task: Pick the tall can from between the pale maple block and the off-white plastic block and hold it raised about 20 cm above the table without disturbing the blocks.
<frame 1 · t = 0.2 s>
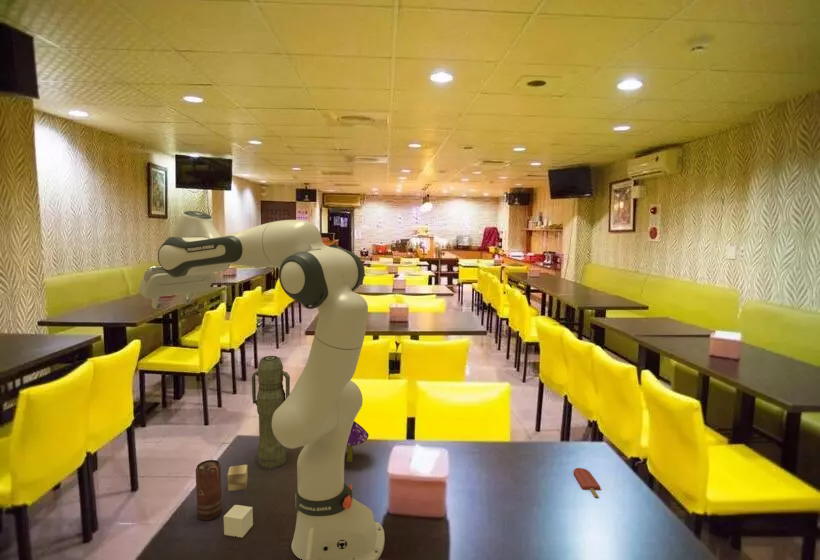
hand: (171, 304, 135), 54 cm above the table, tool tilted 30°, fingers open, 8 cm apart
decorative mushroom: (349, 462, 153), on the table
maple block: (238, 485, 138), on the table
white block: (238, 530, 118), on the table
can: (210, 514, 124), on the table
popsicle: (587, 485, 141), on the table
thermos: (273, 462, 152), on the table
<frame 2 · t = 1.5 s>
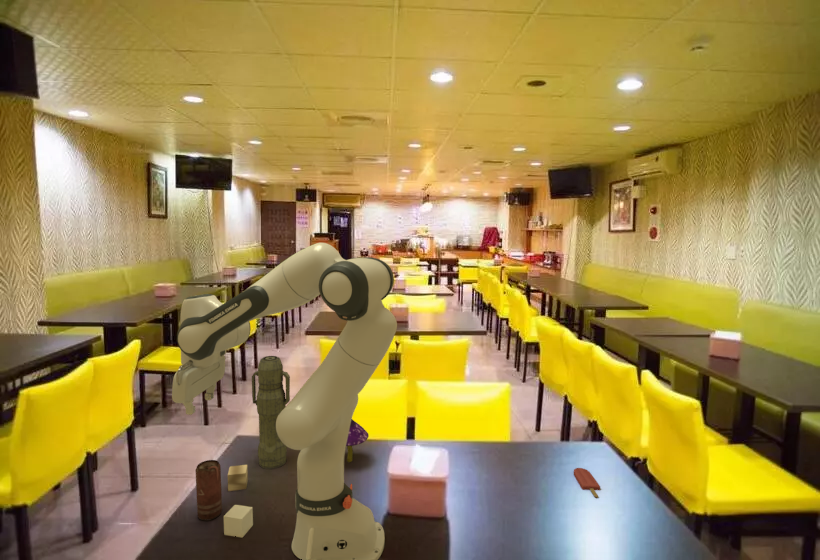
hand: (200, 406, 123), 29 cm above the table, tool pointing down, fingers open, 8 cm apart
nothing on the table moved.
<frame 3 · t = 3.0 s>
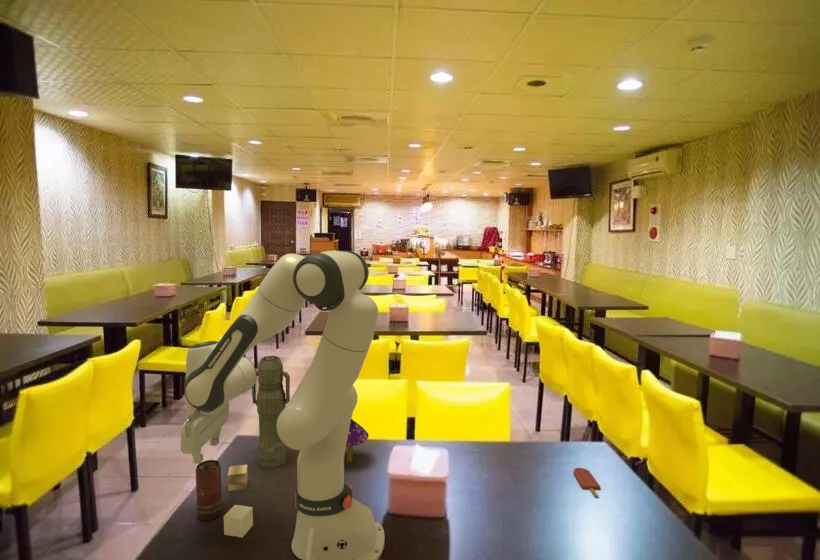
hand: (206, 453, 122), 17 cm above the table, tool pointing down, fingers open, 8 cm apart
nothing on the table moved.
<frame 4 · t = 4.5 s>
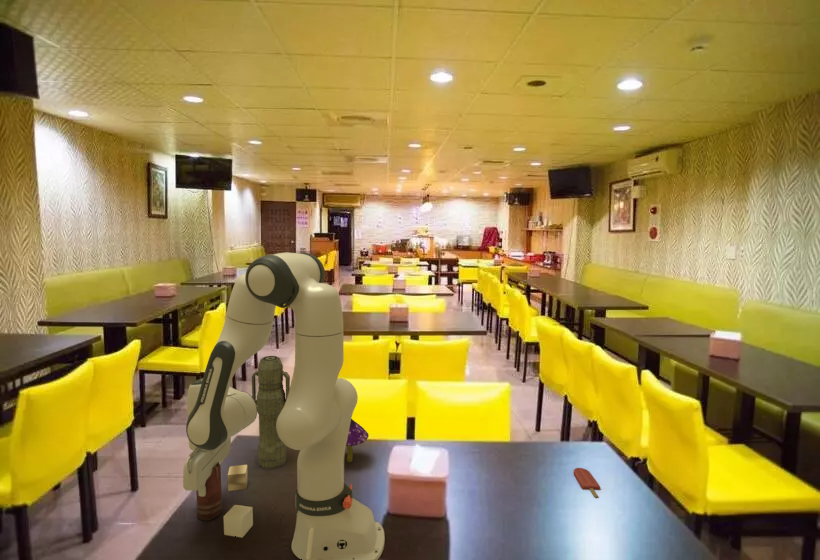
hand: (209, 487, 124), 8 cm above the table, tool pointing down, fingers closed on can, 6 cm apart
can: (210, 514, 124), on the table, touching gripper
everything else where it was.
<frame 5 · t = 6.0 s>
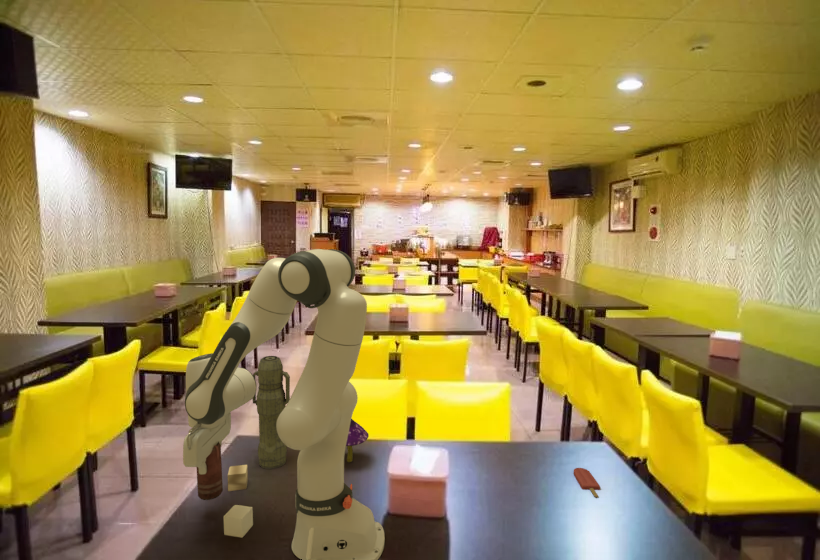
hand: (210, 465, 123), 14 cm above the table, tool pointing down, fingers closed on can, 6 cm apart
can: (211, 495, 123), point 6 cm above the table, touching gripper
everything else where it was.
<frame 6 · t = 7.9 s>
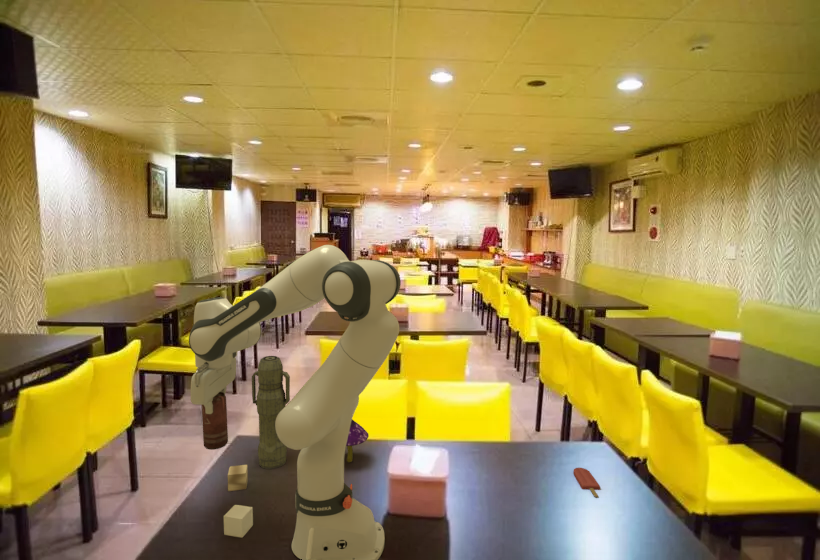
hand: (215, 407, 125), 28 cm above the table, tool pointing down, fingers closed on can, 5 cm apart
can: (216, 445, 126), point 18 cm above the table, touching gripper
everything else where it was.
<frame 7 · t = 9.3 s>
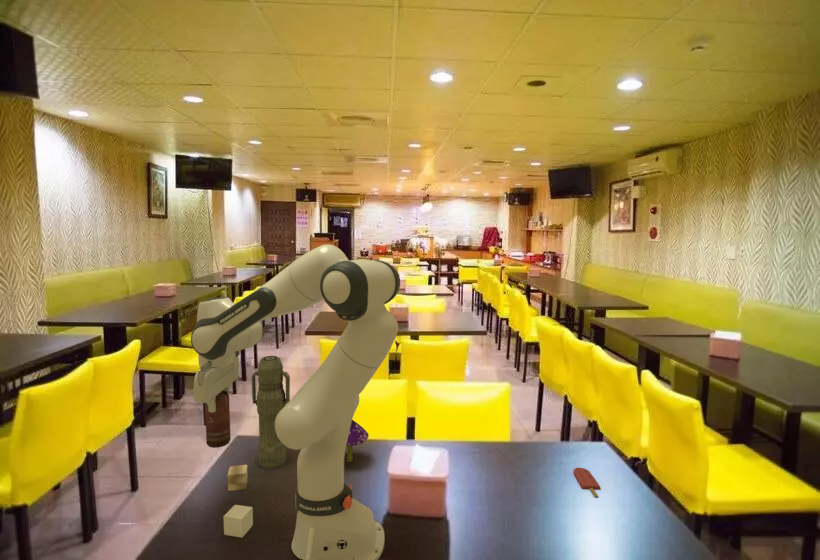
hand: (218, 406, 126), 28 cm above the table, tool pointing down, fingers closed on can, 5 cm apart
can: (219, 443, 127), point 18 cm above the table, touching gripper
everything else where it was.
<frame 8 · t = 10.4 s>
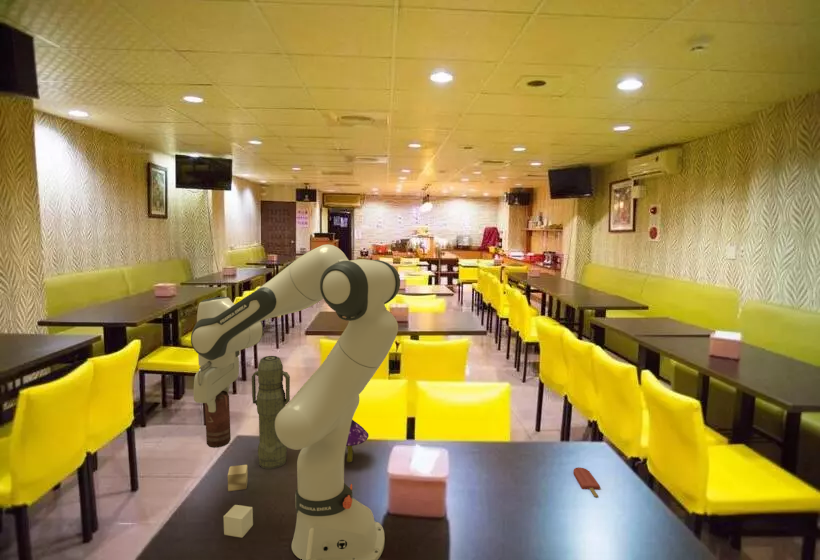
hand: (218, 406, 126), 28 cm above the table, tool pointing down, fingers closed on can, 5 cm apart
can: (219, 443, 127), point 18 cm above the table, touching gripper
everything else where it was.
at the end: the gripper is holding can; can point 17.5 cm above the table; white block moved 0.1 cm from its start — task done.
